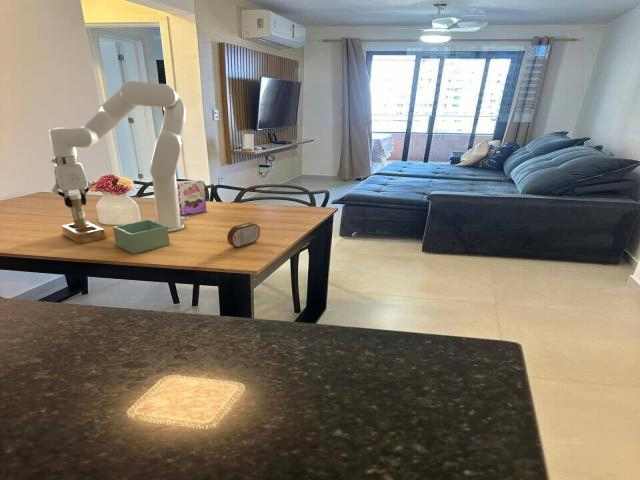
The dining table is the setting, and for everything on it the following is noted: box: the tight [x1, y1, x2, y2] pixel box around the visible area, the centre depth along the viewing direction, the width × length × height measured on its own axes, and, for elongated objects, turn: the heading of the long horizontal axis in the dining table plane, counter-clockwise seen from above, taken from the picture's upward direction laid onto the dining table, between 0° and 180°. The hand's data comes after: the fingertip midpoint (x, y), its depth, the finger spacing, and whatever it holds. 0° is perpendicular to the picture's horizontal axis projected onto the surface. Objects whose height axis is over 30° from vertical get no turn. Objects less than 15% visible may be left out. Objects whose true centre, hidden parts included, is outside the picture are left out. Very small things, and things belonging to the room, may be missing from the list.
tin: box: [226, 221, 261, 248], centre depth 151 cm, size 15×3×8 cm, turn 141°
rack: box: [61, 220, 106, 245], centre depth 156 cm, size 10×18×4 cm, turn 51°
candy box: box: [176, 179, 207, 217], centre depth 194 cm, size 14×6×16 cm, turn 129°
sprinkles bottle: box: [68, 192, 87, 227], centre depth 156 cm, size 5×5×13 cm
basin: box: [112, 219, 171, 255], centre depth 148 cm, size 14×14×8 cm
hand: (76, 205), depth 156 cm, fingers closed on sprinkles bottle, 4 cm apart
